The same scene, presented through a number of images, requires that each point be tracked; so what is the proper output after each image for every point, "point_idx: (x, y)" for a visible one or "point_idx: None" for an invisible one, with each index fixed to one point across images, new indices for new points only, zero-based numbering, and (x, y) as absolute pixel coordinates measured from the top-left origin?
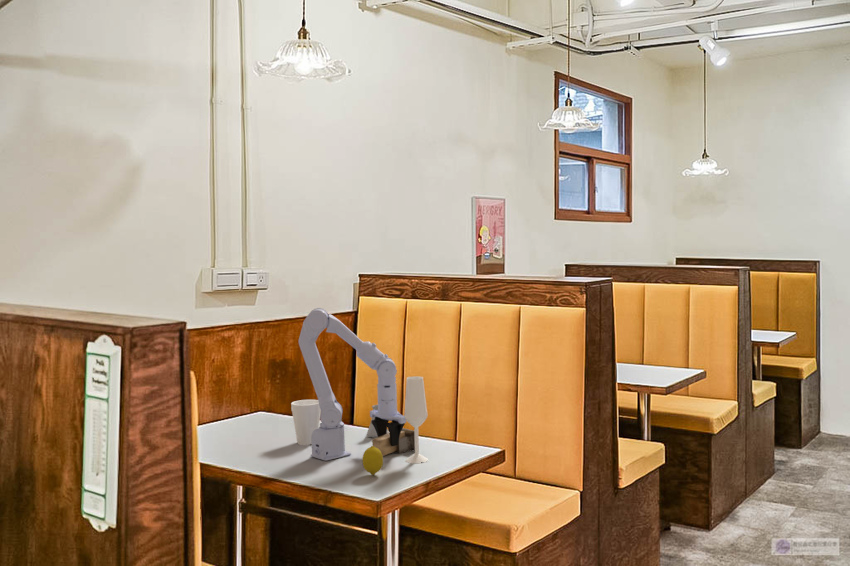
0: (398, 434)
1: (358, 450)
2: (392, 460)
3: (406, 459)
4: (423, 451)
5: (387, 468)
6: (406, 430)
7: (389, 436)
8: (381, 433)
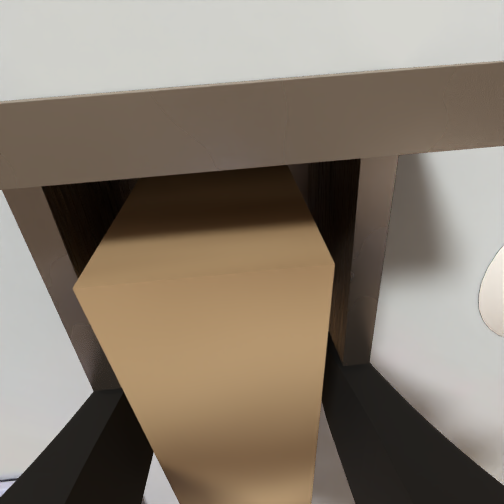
0: (411, 435)
1: (26, 406)
2: (407, 376)
3: (487, 318)
4: (465, 26)
5: (485, 449)
6: (274, 161)
7: (287, 459)
8: (126, 495)
